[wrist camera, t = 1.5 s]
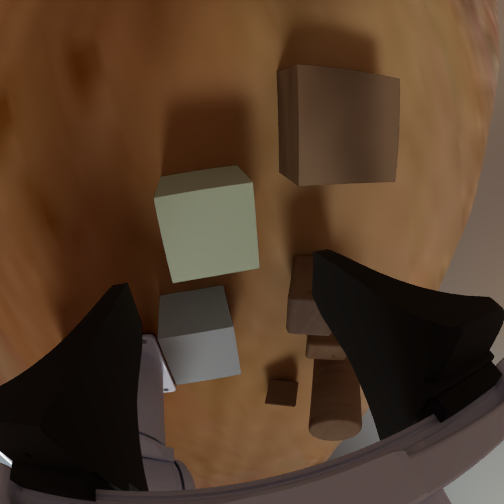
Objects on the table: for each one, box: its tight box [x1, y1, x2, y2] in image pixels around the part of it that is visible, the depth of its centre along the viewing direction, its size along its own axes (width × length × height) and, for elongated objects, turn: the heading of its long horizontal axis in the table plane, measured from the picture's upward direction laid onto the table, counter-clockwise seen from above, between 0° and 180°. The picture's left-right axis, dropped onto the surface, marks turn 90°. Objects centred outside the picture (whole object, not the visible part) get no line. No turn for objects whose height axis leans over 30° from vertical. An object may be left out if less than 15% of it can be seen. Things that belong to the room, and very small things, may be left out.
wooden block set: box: [265, 255, 362, 441], centre depth 24 cm, size 18×9×10 cm, turn 1°
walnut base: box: [277, 64, 400, 186], centre depth 17 cm, size 7×7×4 cm
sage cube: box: [154, 165, 259, 283], centre depth 18 cm, size 5×5×5 cm
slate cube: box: [158, 285, 241, 385], centre depth 22 cm, size 5×5×5 cm
